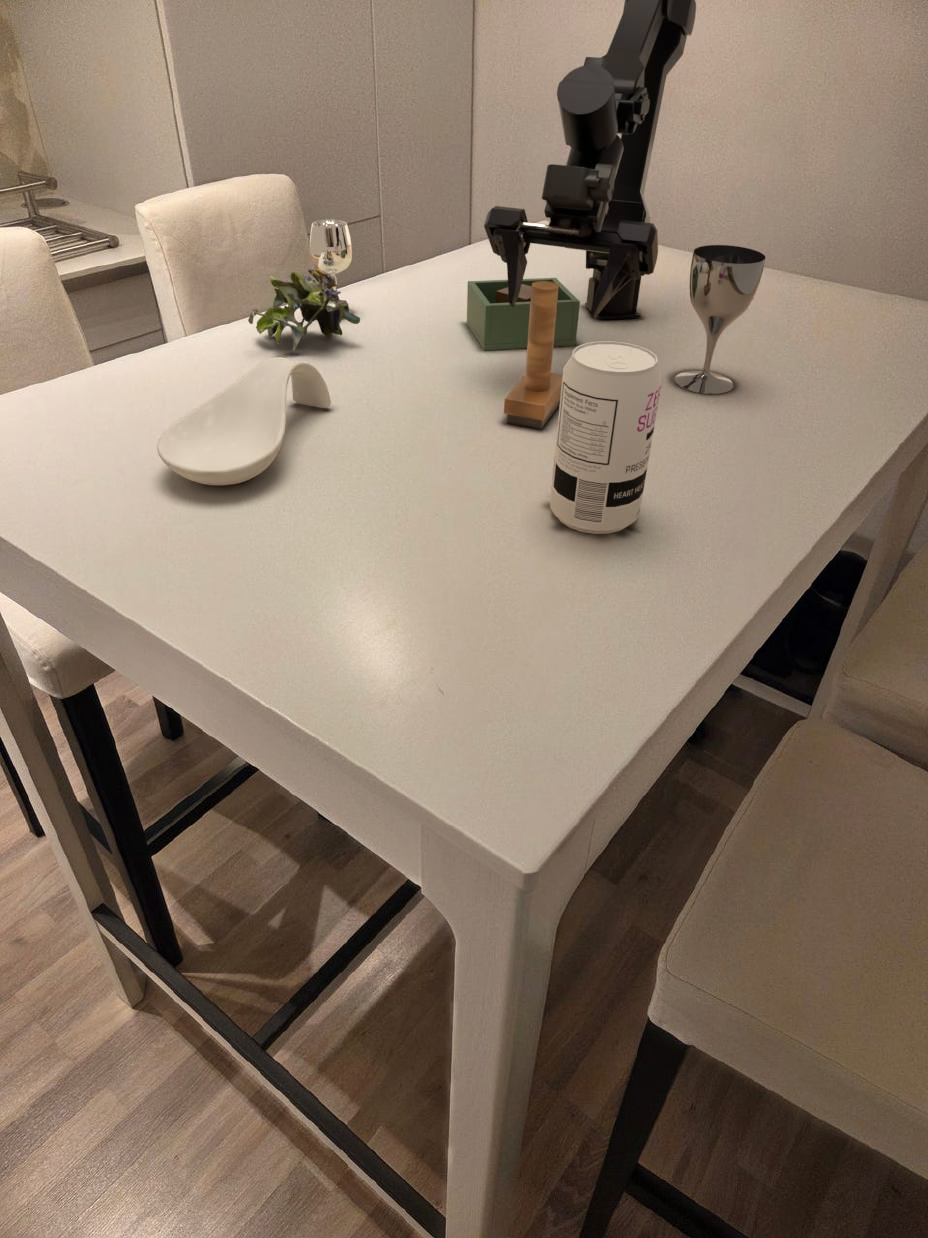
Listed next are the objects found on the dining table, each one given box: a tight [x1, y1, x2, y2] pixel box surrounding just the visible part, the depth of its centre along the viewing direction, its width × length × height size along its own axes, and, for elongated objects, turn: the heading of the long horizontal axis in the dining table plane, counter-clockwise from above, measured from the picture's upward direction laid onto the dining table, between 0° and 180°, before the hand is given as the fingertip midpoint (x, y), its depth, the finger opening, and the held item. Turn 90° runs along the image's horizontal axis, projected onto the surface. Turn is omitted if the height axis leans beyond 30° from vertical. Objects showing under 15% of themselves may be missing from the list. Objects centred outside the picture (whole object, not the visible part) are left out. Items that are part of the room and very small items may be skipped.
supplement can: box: [549, 340, 663, 535], centre depth 75 cm, size 8×8×15 cm
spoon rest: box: [156, 356, 332, 486], centre depth 87 cm, size 24×12×7 cm, turn 160°
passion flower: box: [247, 268, 361, 356], centre depth 111 cm, size 11×11×12 cm
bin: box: [466, 277, 581, 351], centre depth 116 cm, size 13×11×6 cm
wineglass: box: [309, 219, 353, 313], centre depth 119 cm, size 6×6×12 cm
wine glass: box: [674, 244, 766, 395], centre depth 101 cm, size 8×8×15 cm
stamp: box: [503, 281, 563, 430], centre depth 94 cm, size 5×9×14 cm, turn 159°
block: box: [496, 284, 532, 303], centre depth 116 cm, size 5×5×5 cm
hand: (551, 310), depth 94 cm, fingers open, 9 cm apart
